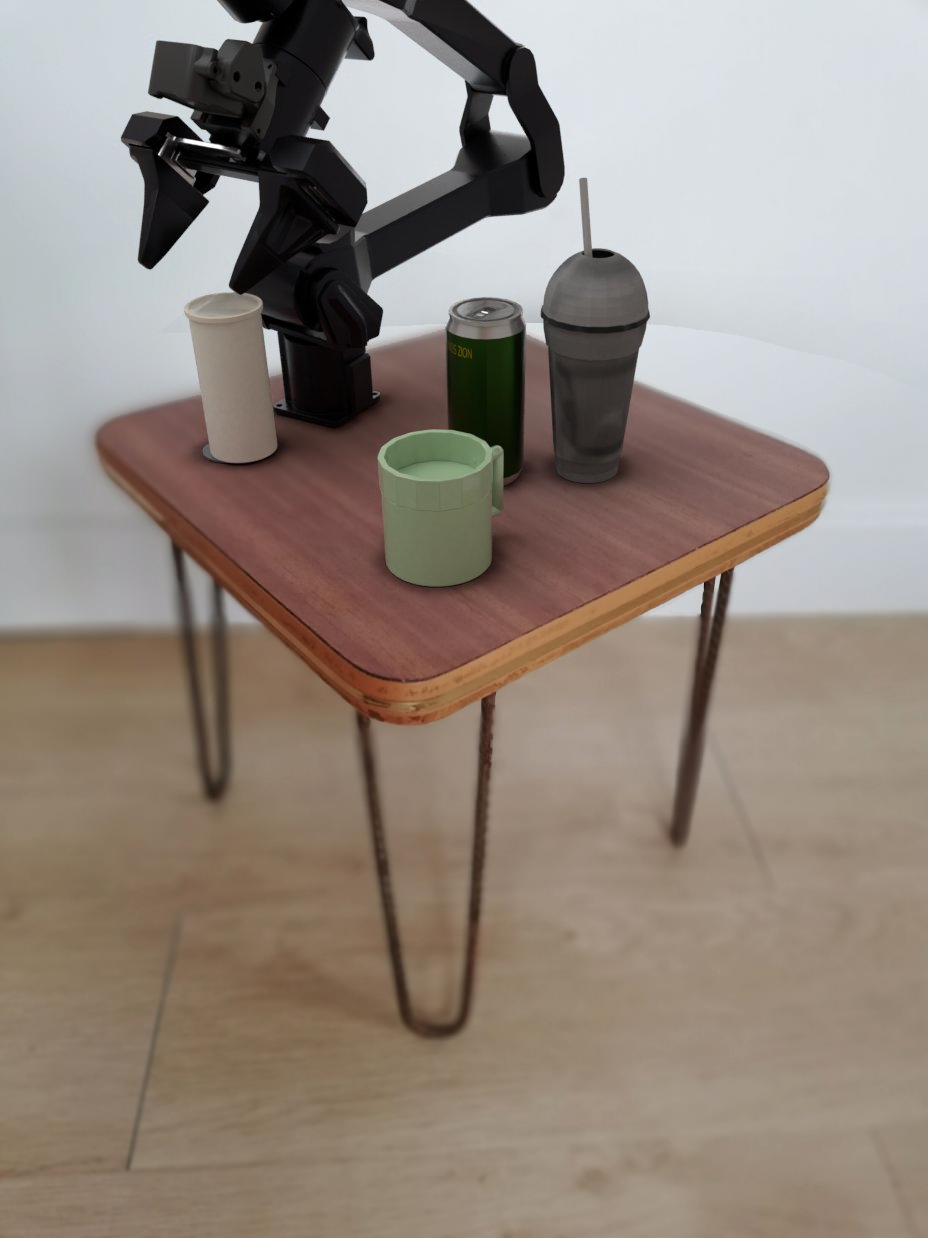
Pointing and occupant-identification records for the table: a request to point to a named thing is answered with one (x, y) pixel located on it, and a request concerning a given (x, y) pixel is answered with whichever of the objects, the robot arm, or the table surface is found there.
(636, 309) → the beverage cup
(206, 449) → the coaster
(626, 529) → the table surface
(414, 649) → the table surface
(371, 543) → the table surface
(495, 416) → the beer can
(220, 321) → the paper cup
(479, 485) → the mug
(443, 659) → the table surface
